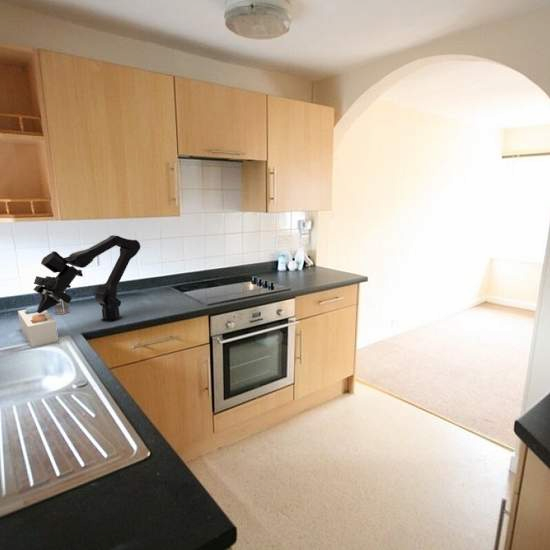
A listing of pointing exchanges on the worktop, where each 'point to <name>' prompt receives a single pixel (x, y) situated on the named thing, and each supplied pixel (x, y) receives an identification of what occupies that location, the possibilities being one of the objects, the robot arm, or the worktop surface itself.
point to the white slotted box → (38, 328)
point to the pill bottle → (61, 307)
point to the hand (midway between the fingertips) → (38, 312)
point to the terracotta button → (39, 318)
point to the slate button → (31, 309)
